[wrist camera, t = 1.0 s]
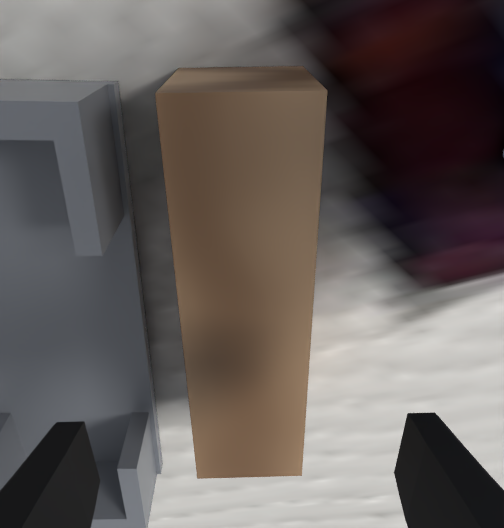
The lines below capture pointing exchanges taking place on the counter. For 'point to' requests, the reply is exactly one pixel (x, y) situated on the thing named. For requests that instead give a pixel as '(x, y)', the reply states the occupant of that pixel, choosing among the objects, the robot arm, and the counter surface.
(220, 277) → the slat
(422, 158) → the counter surface
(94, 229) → the cradle
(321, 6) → the counter surface
